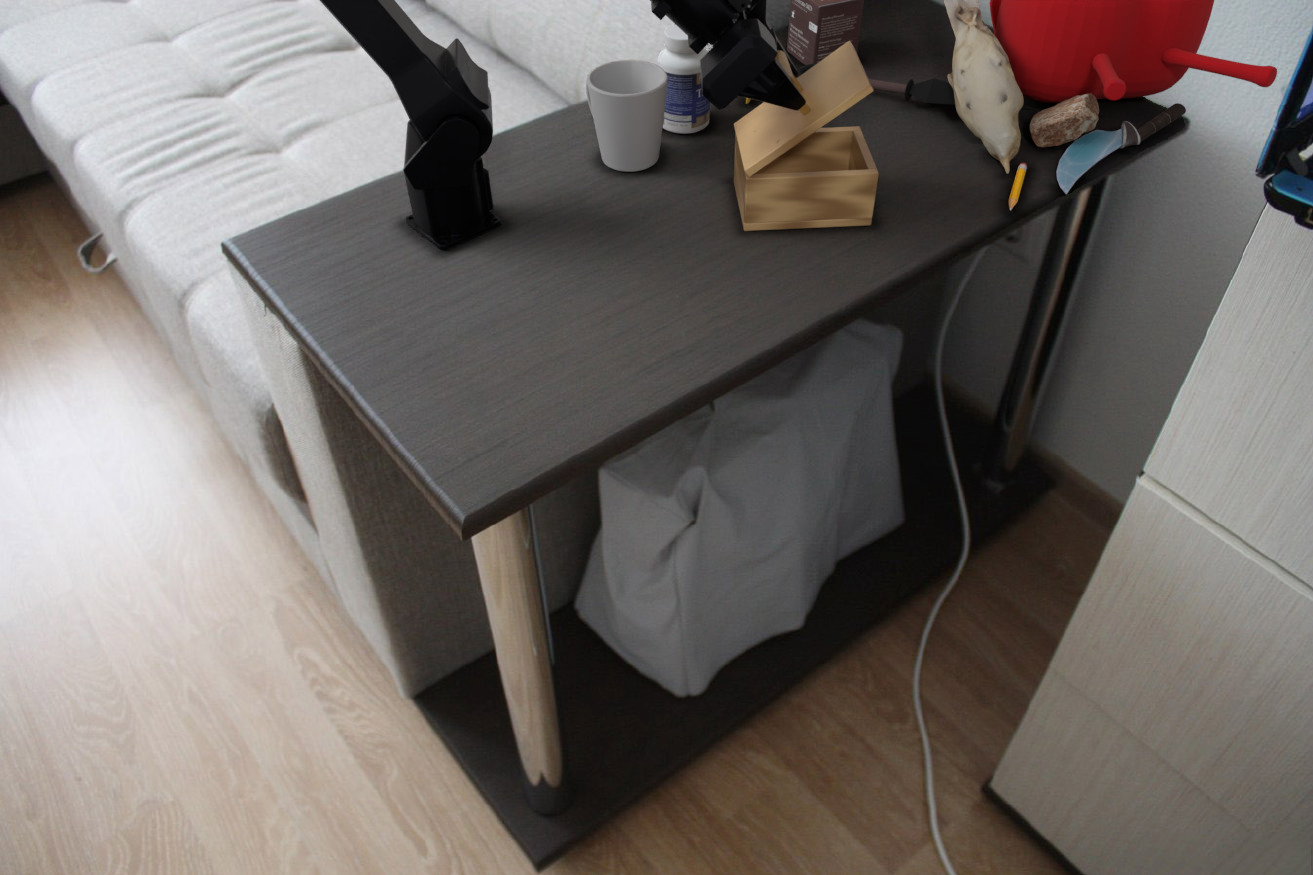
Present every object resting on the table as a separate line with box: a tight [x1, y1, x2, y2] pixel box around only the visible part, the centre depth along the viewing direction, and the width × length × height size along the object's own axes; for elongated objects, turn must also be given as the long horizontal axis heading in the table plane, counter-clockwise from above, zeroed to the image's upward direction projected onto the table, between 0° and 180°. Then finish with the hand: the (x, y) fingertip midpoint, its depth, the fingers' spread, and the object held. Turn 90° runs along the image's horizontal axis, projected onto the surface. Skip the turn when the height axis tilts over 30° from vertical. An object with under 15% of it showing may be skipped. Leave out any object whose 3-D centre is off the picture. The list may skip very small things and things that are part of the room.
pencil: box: [1008, 162, 1028, 211], centre depth 97 cm, size 1×8×1 cm
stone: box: [1029, 93, 1100, 148], centre depth 102 cm, size 7×6×5 cm
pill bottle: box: [657, 23, 711, 135], centre depth 104 cm, size 5×5×10 cm
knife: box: [1055, 103, 1187, 195], centre depth 102 cm, size 22×2×5 cm
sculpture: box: [943, 0, 1025, 175], centre depth 102 cm, size 6×25×5 cm
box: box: [786, 0, 865, 65], centre depth 116 cm, size 6×6×7 cm
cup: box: [585, 59, 668, 173], centre depth 100 cm, size 8×10×8 cm
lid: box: [733, 41, 875, 177], centre depth 88 cm, size 12×9×5 cm
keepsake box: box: [733, 125, 880, 232], centre depth 94 cm, size 12×9×5 cm
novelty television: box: [989, 0, 1278, 105], centre depth 105 cm, size 21×13×30 cm
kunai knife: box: [796, 64, 1043, 111], centre depth 108 cm, size 4×27×3 cm, turn 57°
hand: (798, 91), depth 88 cm, fingers closed on lid, 5 cm apart
